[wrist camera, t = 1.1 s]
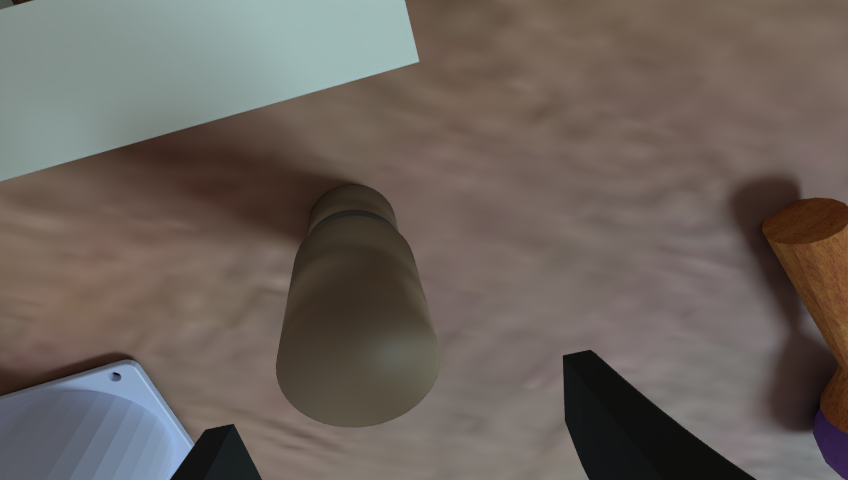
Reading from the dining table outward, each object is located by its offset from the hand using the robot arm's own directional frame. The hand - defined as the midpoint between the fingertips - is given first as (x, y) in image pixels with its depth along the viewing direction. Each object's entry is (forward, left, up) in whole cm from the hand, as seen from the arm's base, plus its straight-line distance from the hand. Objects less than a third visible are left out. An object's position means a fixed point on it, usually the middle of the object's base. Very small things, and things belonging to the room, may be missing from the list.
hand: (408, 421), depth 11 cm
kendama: (+22, -15, -12) cm, 29 cm away
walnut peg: (-1, 0, -11) cm, 11 cm away
